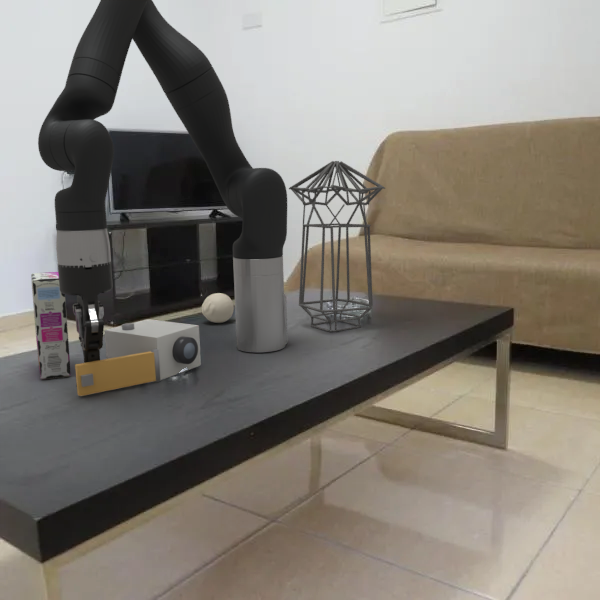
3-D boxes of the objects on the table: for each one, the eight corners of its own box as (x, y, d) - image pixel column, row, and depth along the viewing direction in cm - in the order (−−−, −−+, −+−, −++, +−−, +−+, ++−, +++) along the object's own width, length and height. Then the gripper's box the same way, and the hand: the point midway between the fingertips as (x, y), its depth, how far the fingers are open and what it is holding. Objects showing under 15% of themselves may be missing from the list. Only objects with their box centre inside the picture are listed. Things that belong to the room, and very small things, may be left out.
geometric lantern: (286, 325, 142) (284, 162, 137) (346, 318, 150) (346, 163, 144) (326, 337, 128) (325, 157, 123) (388, 329, 136) (390, 159, 131)
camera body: (150, 356, 118) (147, 314, 116) (208, 366, 110) (206, 321, 109) (107, 370, 109) (103, 325, 108) (167, 382, 102) (164, 333, 101)
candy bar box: (73, 376, 106) (64, 278, 103) (40, 381, 104) (30, 280, 102) (68, 360, 116) (60, 270, 114) (38, 364, 115) (29, 272, 112)
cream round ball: (195, 323, 146) (194, 294, 145) (221, 318, 151) (220, 290, 150) (213, 327, 141) (212, 297, 140) (240, 322, 146) (238, 292, 145)
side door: (158, 379, 103) (156, 348, 102) (163, 381, 102) (161, 350, 101) (77, 395, 96) (74, 363, 95) (81, 398, 94) (78, 365, 94)
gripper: (53, 257, 100) (62, 365, 103) (62, 267, 88) (72, 389, 91) (103, 254, 103) (110, 359, 106) (118, 263, 91) (126, 381, 94)
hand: (93, 372), depth 99 cm, fingers closed
